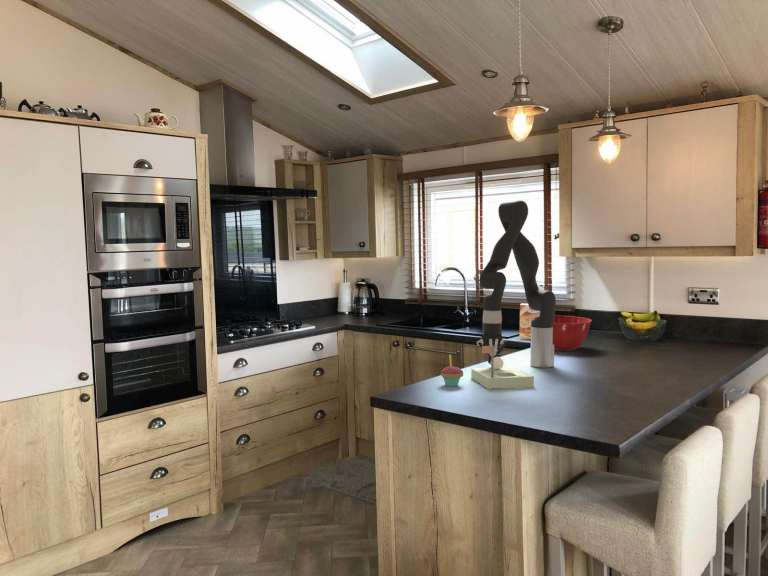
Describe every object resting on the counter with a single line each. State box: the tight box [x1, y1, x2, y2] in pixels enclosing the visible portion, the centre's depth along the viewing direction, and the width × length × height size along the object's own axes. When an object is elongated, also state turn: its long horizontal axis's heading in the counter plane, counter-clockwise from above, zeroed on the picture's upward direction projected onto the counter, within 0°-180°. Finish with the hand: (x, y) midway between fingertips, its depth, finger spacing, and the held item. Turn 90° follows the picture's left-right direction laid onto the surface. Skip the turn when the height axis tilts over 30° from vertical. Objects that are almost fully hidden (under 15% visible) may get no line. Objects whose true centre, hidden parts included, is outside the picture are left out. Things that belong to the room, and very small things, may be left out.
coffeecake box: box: [519, 303, 540, 340], centre depth 350 cm, size 15×7×20 cm, turn 73°
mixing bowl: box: [533, 315, 592, 352], centre depth 317 cm, size 28×28×15 cm
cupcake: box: [440, 354, 464, 387], centre depth 237 cm, size 9×8×12 cm
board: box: [470, 345, 535, 390], centre depth 241 cm, size 20×19×16 cm
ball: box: [493, 356, 504, 370], centre depth 246 cm, size 5×5×5 cm
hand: (491, 364), depth 251 cm, fingers closed
